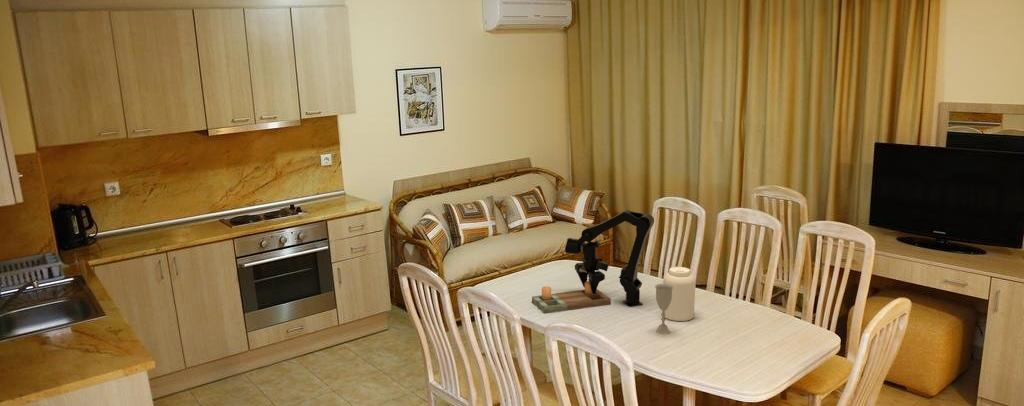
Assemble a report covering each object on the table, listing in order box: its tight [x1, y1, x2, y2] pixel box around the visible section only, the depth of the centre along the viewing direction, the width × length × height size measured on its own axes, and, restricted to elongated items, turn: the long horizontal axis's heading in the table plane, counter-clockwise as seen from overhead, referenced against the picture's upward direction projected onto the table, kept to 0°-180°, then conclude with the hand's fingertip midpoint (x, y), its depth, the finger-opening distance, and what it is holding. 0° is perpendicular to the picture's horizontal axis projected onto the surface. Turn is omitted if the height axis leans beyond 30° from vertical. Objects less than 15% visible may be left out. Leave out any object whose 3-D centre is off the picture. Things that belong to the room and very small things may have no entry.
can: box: [662, 266, 696, 322], centre depth 301 cm, size 12×12×20 cm
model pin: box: [541, 286, 552, 301], centre depth 319 cm, size 4×4×7 cm
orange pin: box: [584, 280, 593, 295], centre depth 325 cm, size 4×4×7 cm
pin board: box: [531, 289, 612, 314], centre depth 320 cm, size 15×30×2 cm, turn 109°
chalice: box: [654, 283, 673, 335], centre depth 285 cm, size 7×7×18 cm
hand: (589, 290), depth 325 cm, fingers open, 9 cm apart
